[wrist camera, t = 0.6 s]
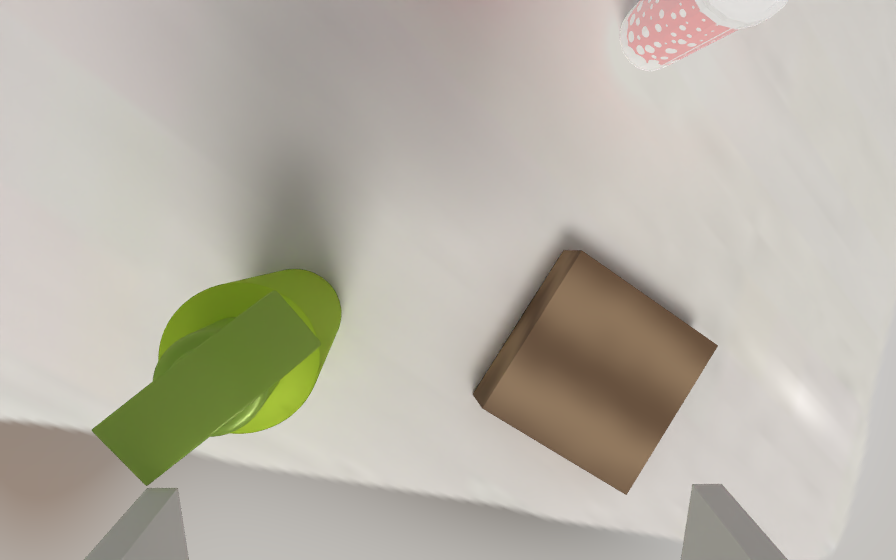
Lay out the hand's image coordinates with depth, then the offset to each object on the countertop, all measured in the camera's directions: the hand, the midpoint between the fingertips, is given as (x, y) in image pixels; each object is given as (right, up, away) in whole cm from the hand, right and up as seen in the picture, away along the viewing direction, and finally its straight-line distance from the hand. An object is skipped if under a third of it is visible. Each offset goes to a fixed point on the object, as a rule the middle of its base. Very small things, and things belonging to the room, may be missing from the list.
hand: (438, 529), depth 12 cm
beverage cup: (+15, +24, +22) cm, 35 cm away
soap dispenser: (-9, +5, +19) cm, 22 cm away
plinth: (+10, 0, +22) cm, 24 cm away
